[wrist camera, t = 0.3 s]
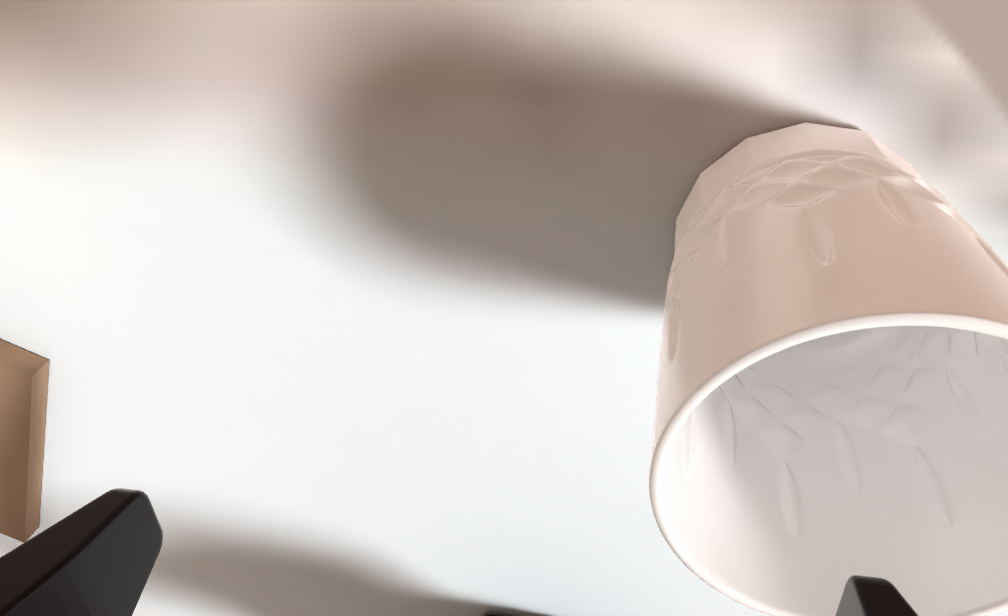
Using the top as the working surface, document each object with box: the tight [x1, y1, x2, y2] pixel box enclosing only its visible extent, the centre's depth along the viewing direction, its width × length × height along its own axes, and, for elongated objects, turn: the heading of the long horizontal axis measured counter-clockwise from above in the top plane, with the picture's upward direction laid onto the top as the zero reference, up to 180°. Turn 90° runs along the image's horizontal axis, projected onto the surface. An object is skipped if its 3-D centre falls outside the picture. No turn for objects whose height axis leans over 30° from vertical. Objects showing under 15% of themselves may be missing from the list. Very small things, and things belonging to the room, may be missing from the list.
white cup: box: [649, 122, 1008, 616], centre depth 17 cm, size 8×8×10 cm
